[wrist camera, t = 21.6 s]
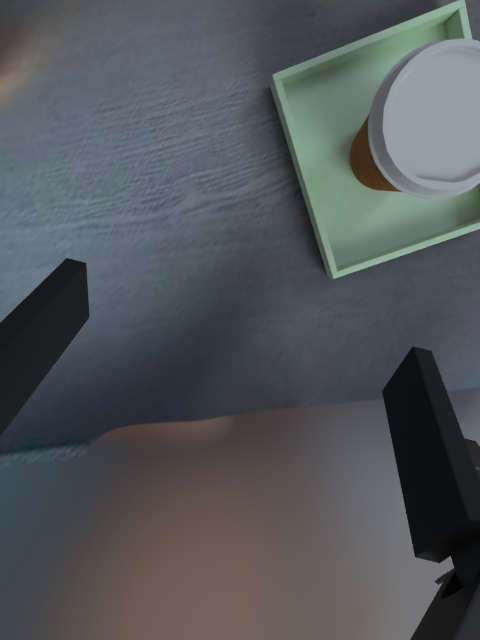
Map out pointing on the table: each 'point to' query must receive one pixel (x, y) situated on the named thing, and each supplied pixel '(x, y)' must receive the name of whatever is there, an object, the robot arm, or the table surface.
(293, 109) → the tray
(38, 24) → the table surface
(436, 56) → the disposable coffee cup
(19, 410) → the robot arm
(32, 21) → the table surface
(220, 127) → the table surface
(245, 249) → the table surface
